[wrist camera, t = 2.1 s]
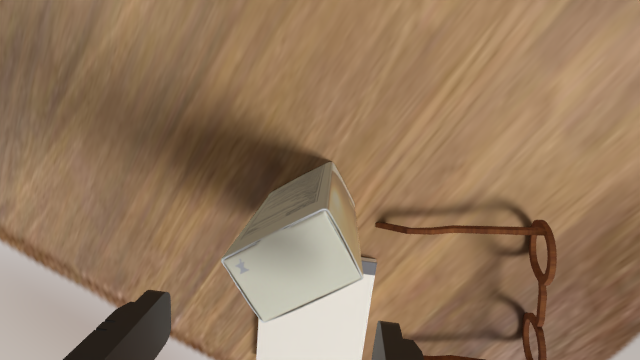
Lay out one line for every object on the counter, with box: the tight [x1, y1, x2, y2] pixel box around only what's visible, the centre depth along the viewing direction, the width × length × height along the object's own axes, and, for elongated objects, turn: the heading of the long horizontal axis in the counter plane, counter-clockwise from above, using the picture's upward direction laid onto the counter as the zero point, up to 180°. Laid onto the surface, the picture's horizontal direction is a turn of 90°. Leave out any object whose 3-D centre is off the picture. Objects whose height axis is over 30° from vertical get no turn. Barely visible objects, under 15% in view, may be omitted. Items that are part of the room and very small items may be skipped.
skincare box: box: [221, 162, 363, 323], centre depth 22 cm, size 6×4×12 cm
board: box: [256, 257, 377, 360], centre depth 31 cm, size 12×10×1 cm
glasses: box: [376, 220, 557, 360], centre depth 27 cm, size 13×13×5 cm
